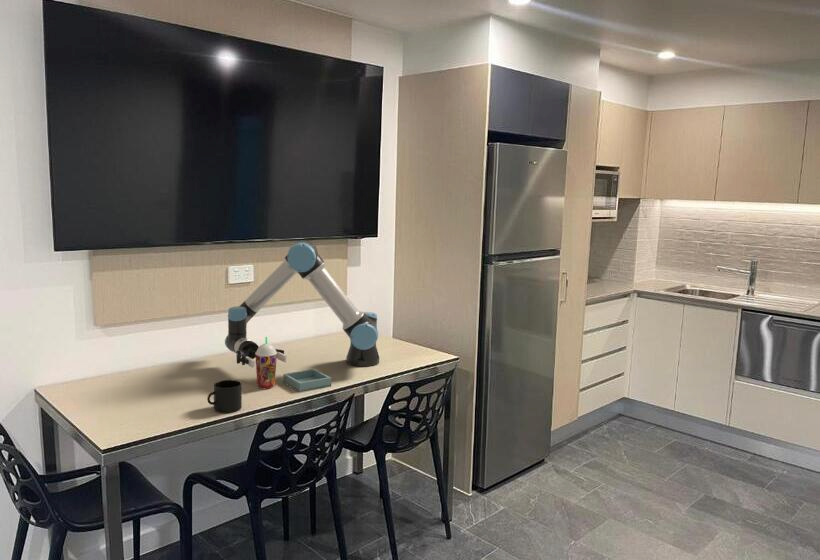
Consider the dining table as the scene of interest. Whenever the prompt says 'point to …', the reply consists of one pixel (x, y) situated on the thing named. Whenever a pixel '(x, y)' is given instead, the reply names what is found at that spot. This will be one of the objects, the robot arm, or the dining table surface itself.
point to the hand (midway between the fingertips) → (269, 361)
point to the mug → (227, 396)
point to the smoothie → (266, 365)
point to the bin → (307, 380)
